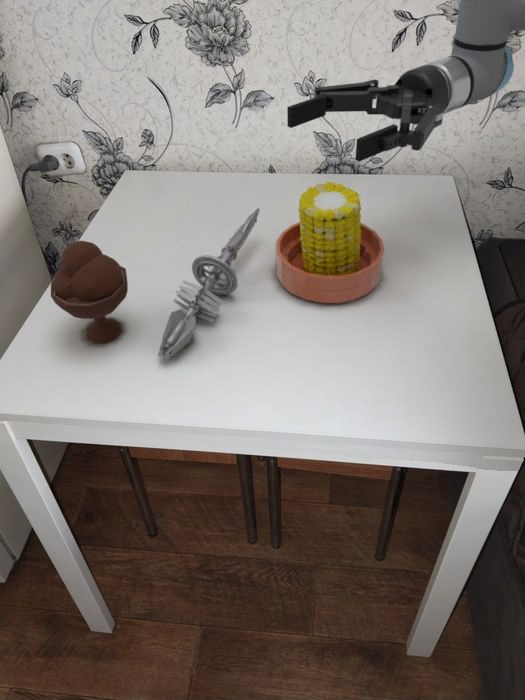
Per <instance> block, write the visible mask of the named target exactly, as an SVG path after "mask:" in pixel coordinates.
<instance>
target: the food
mask: <svg viewBox="0 0 525 700" xmlns="http://www.w3.org/2000/svg"><path fill="white" fill-rule="evenodd" d="M298 206H299V207H298V212H299V214H298V216H299V217H298V218H299V222H300V223H301V224H300V232H301V238H300V240H301V241H302V243H301V246H302V255H303V257H302V259H303V265H304V267H305V271H306V272H307V273H312V274H317V275H323V276H341V275H346V274H351V273H356V271H357V270H358V269H359V268H358V267H359V260H360V259H361V257H360V244H361V241H360V238H361V229H360V226H361V223H362V222H361V218H362V214H361V210H362V206H361V201H360V195H359V194H358V192H357V191H355V190H354V189H351V188H349V187H345V186H344V185H343V184H342V183H337V184H335V182H332V181H328V182H326V183H325V184H324V183H317V184H316V185H315V186H309V187H308V188H307V189H306V191H303V192H302V193H301V195H300V198H299V203H298Z"/></svg>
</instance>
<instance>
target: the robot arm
mask: <svg viewBox="0 0 525 700" xmlns="http://www.w3.org/2000/svg"><path fill="white" fill-rule="evenodd" d="M455 26H456V27H455V33H454V39H453V43H452V48H451V54H450V55H449V56H445V57H443V58H440V59H437V60H434V61H431V62H429V63H426V64H424V65H420V66H417V67H414V68H411V69H408V70H407V71H404V72H403V73H402V75H400V76H399V78H398V80H397V81H396V82H395V84H389V85H386V86H379V80H378V79H369V80H367V81H362V82H353V83H343V84H336V85H326V86H317V87H315V88H314V97H312V98H309V99H306V100H303V101H301V102H297V103H295V104H292V105H289V106H287V107H286V108H287V109H286V111H287V114H286V115H287V117H286V118H287V123H286V125H287V127H288V128H289V129H292V128H296V127H298V126H300V125H303V124H306V123H308V122H312V121H315V120H317V119H319V118H324V116H326V115H327V113H336V112H339V113H340V112H342V113H345V112H347V113H348V112H365V113H366V114H367V115H374V116H375V115H377V116H378V115H383V116H385V117H387V118H389V119H392V120H399V125H397V124H391V125H387V126H386V127H382V128H381V129H378V130H375V131H373V132H370V133H368V134H366V135H363V136H360V137H358V138H356V145H355V161H358V162H362V161H364V160H367V159H370V158H371V157H374V156H376V155H379V154H381V153H383V152H388V151H392V150H394V149H395V148H399V147H400V148H407V146H411V150H413V151H420V150H421V149H422V148H423V146H424V145H425V143H426V142H427V140H428V139H429V137H430V136H431V134H432V132H433V131H434V130H435V128H437V127H439V126H441V125H442V124H443V119H444V115H445V114H447V113H450V112H452V111H454V110H458V109H461V108H463V107H465V106H468V105H470V104H473V103H476V102H478V101H483V100H484V99H487V98H489V97H491V96H492V95H494V94H496V93H498V92H499V91H501V90H502V89H504V88H505V87H506V86H507V85H508V84H509V82H510V80H511V78H512V76H513V74H514V69H515V64H514V60H513V53H512V51H511V50H510V48H509V47H508V46H507V42H508V38H509V34H510V32H520V31H522V32H523V31H525V0H460V1H459V8H458V13H457V19H456V25H455ZM374 100H376V101H375V107H373V104H374V103H373V102H374ZM411 125H415V128H414V129H413V130H412V129H410V127H411ZM398 128H399V129H398Z"/></svg>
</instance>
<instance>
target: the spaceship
mask: <svg viewBox="0 0 525 700" xmlns="http://www.w3.org/2000/svg"><path fill="white" fill-rule="evenodd" d="M260 210H261V209H260V208H256V209H255V210H254V211H253V212H252V213H251V214H250V215H248V216H247V217H246V219H245V221H244V223H242V224H241V225H240V226H239V227H238V228H237V230H235V232H234V233H233V235H232V236H231V237H230V238H228V241H227V243H226V244H225V246H224V247H222V249H221V251H220V252H221V253H220V255H218V256H213V255H210V254H207V255H206V254H204V255H199V256H198V257H196V258H194V260H193V262H192V264H191V270H192V272H191V273H192V274H193V277H194V279H195V280H196V282H197V283H198V284H199V285H198V284H195V283H193V282H190V281H187V280H183V281H181V282H182V284H184V285H186V286H184V285H179V286H178V289H180V290H177V289H176V291H174V294H177V295H176V297H177V298H178V299H177V298H174V299H173V300H172V301H173V303H175V304H176V305H178V306H179V307H180V308H179V309H178V310H174V311H171V312H170V315H169V317H168V320H167V323H166V326H165V329H164V332H163V334H162V337H161V339H162V340H161V343H160V346H159V350H158V354H157V356H158V357H161V356H162V355H163V359H164V360H168V359H169V358H170V357H172V356H174V355H176V354H177V353H179V351H180V350H182V349H183V348H184V347H185V346H186V345H188V344H189V343H190V342H191V341H192V336H193V335H192V334H193V329H195V327H197V317H198V318H200V319H202V320H203V319H204V320H206V321H208V322H211V323H212V322H213V321H214V320H215V319H214V318H215V317H216V316H218V314H217V312H220V310H221V309H220V307H221V306H220V305H219V304H221V305H222V304H223V302H224V301H223V299H221V298H220V297H218V296H217V295H220V296H226V295H230V294H232V293H234V292H235V291H236V290H237V288H238V285H239V281H238V275H237V274H236V272H235V270H234V269H233V267H232V262H233V261H235V260H236V259H237V258H238V253H239V251H240V250H241V248H242V247H243V245H244V243H245V242H246V241H247V238H249V235H250V234H251V232H252V230H253V228H254V227H255V225H256V223H257V222H258V217H259V214H260ZM205 267H207V268H208V269H206V268H205ZM207 274H208V275H207ZM187 286H188V287H187ZM189 287H191V288H189ZM194 289H195V290H194ZM215 294H216V295H215ZM210 298H211V299H210ZM212 299H213V300H215V301H216V302H218V303H219V304H218V303H216V302H215V301H213V300H212ZM179 300H180V301H179ZM181 301H182V302H181ZM183 302H184V303H185V304H184V303H183ZM186 304H187V305H188V306H187V305H186ZM185 311H186V312H185ZM203 313H204V314H203ZM205 314H206V315H205ZM207 315H209V316H207ZM210 316H212V317H214V318H212V317H210Z"/></svg>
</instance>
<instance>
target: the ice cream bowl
mask: <svg viewBox="0 0 525 700" xmlns="http://www.w3.org/2000/svg"><path fill="white" fill-rule="evenodd" d="M59 265H60V268H58V270H57V271H55V273H54V276H53V279H52V280H51V281H50V297H51V300H53V302H54V303H55V305H56V306H58V307H59V308H60V309H61V310H63V311H64V312H66V313H67V314H69V315H70V316H72V317H74V318H77V319H82V320H93V321H92V322H91V323H89V325H87V327H86V329H85V335H86V336H85V337H86V340H88V341H89V342H91V343H92V344H107V343H110V342H112V341H114V340H116V339H117V338H118V337H119V336H120V334H122V332H123V331H122V324H121V322H119V321H117V320H116V319H115V318H113V317H107V316H108V315H111V314H112V313H113V312H114V311H115V310H116V309H117V308H118V307H119V306H120V304H121V303H122V302H123V301H124V300H125V299H126V298H127V295H128V290H129V289H128V288H129V285H128V282H129V281H128V276H127V268H125V267H124V266H121V265H120V264H119V262H118V261H117V260H115V258H113V257H111V256H108V255H107V254H103V251H102V249H101V248H100V247H98V245H96V244H95V243H94V242H90V241H86V240H77V241H74V242H71V243H70V244H68V245H67V246H66V247H65V248H64V249H63V251H62V253H61V257H60V260H59Z"/></svg>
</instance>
